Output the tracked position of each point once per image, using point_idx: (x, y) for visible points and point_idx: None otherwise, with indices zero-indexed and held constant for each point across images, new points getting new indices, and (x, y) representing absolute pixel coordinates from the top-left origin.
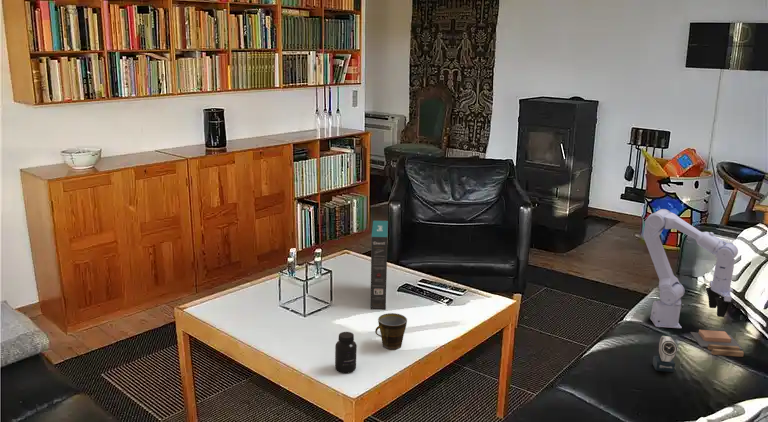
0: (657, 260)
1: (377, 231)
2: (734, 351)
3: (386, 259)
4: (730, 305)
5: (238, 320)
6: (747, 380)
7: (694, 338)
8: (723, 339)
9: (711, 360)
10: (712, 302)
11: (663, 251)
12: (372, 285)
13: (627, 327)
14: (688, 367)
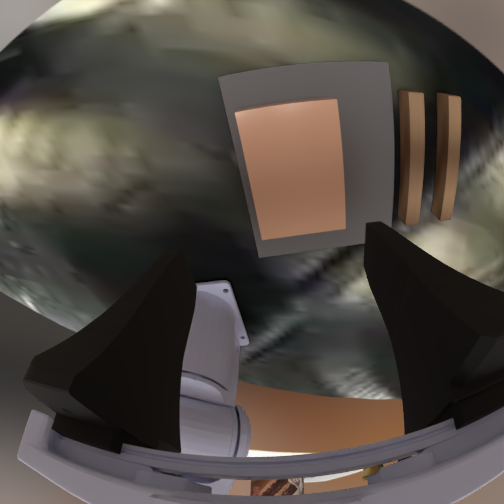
0: None
1: None
2: (457, 135)
3: None
4: (492, 291)
5: (336, 476)
6: None
7: (314, 247)
8: (340, 139)
9: (472, 223)
10: (180, 315)
11: None
12: (303, 490)
13: (279, 381)
14: (487, 284)
